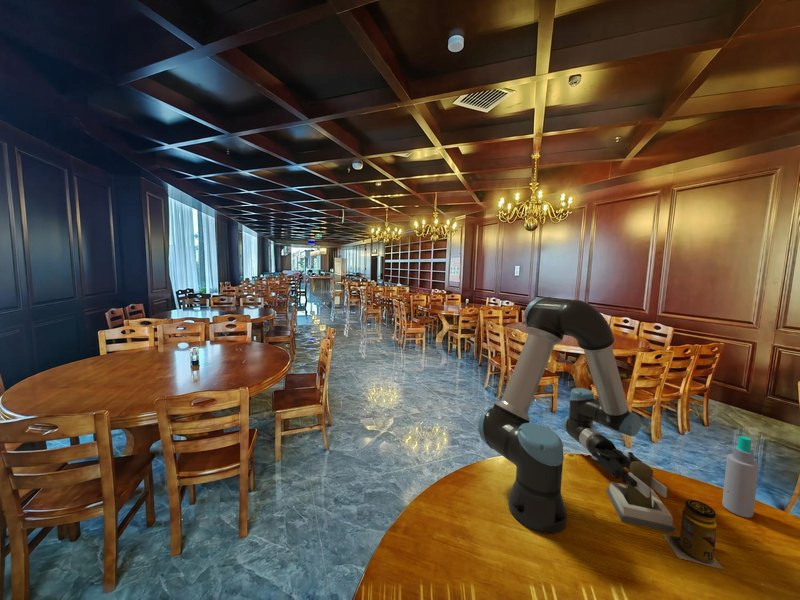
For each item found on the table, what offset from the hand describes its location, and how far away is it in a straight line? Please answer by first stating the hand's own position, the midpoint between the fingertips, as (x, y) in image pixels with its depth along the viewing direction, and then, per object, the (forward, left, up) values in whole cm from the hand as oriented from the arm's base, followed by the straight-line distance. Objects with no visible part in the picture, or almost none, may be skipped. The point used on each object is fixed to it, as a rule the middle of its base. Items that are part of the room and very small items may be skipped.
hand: (656, 492), depth 81 cm
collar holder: (-2, +5, -10) cm, 11 cm away
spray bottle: (+26, +15, -10) cm, 32 cm away
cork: (-2, +5, -7) cm, 9 cm away
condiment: (+5, -6, -10) cm, 13 cm away
